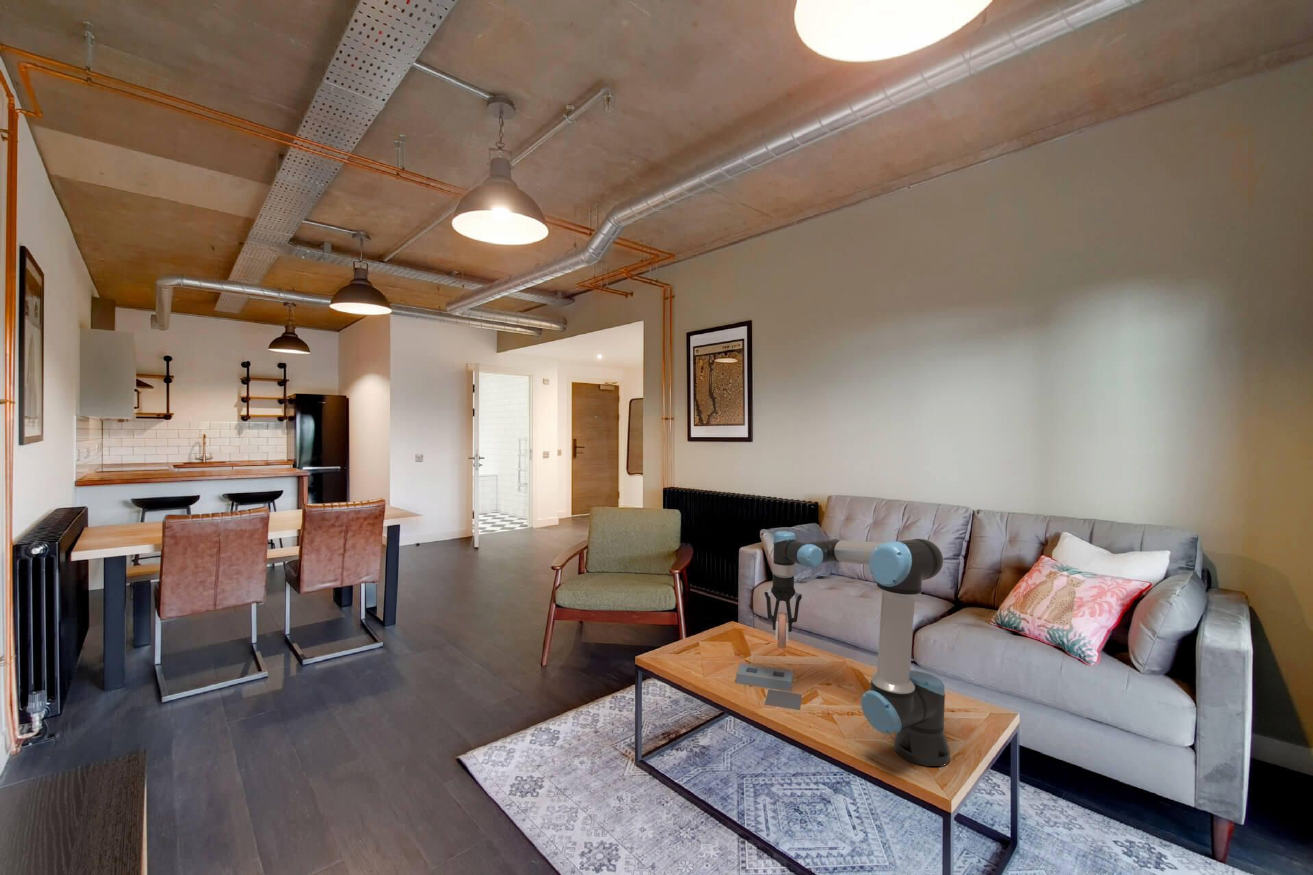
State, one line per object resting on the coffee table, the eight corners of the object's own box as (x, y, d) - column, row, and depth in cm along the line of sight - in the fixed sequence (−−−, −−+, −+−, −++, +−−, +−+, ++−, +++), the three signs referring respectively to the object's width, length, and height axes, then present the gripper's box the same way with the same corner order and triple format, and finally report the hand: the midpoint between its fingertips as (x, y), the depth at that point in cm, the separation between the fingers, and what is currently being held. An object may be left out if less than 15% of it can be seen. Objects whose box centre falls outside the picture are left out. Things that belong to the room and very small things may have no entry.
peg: (785, 648, 201) (786, 615, 201) (777, 647, 202) (778, 614, 201) (786, 645, 204) (787, 612, 203) (777, 644, 205) (778, 611, 204)
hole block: (791, 692, 205) (791, 681, 205) (736, 684, 211) (736, 673, 211) (793, 680, 214) (793, 670, 214) (740, 673, 220) (740, 663, 220)
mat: (800, 711, 191) (800, 709, 191) (764, 705, 195) (764, 704, 195) (802, 695, 203) (802, 694, 203) (768, 690, 206) (768, 689, 206)
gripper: (806, 574, 203) (805, 638, 204) (762, 570, 208) (760, 633, 209) (806, 579, 196) (804, 646, 197) (759, 575, 201) (758, 640, 201)
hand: (781, 639), depth 203 cm, fingers closed on peg, 3 cm apart
